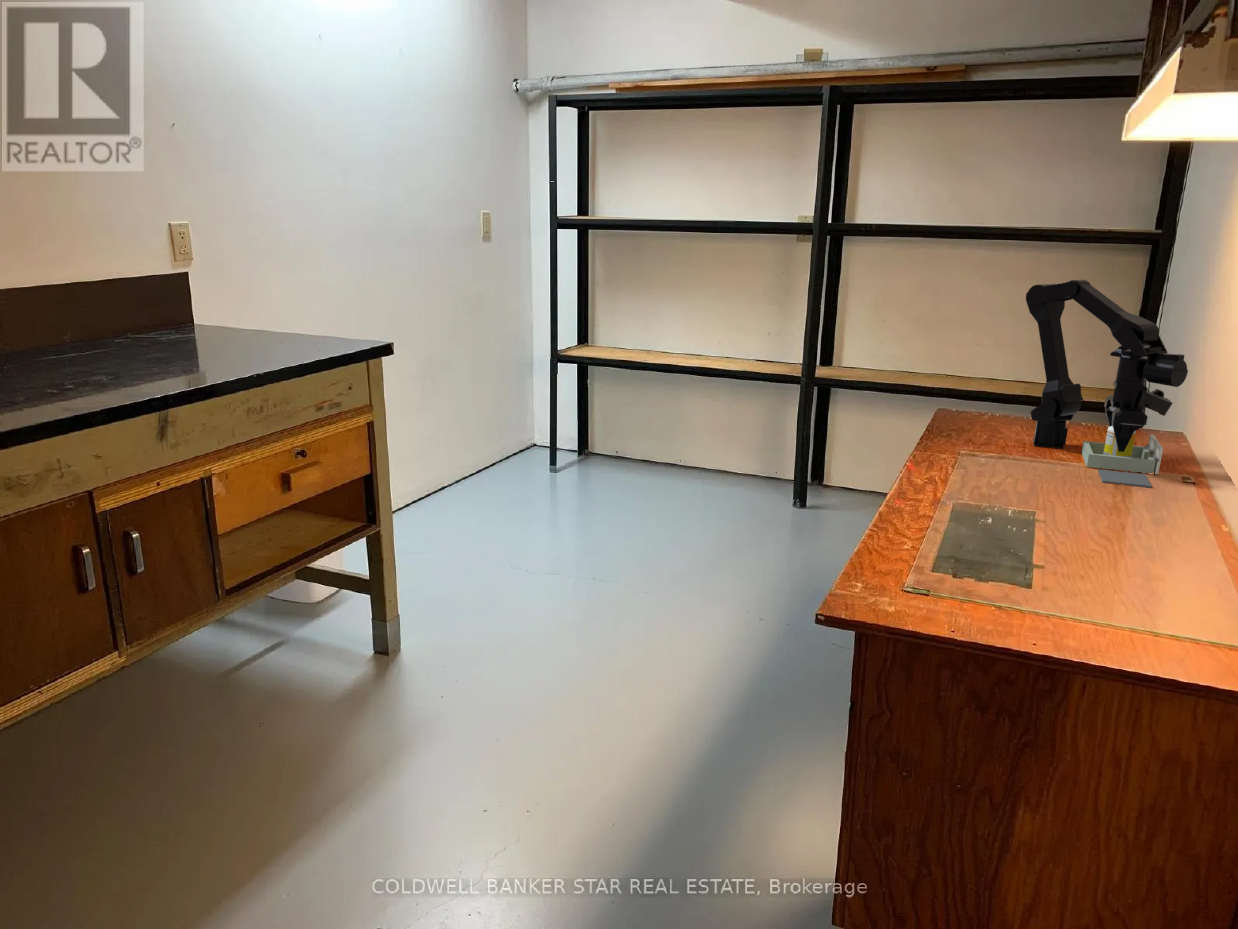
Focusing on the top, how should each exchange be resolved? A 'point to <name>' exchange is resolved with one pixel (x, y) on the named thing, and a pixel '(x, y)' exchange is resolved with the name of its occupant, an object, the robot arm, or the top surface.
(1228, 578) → the top surface
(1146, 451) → the drawer
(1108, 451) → the supplement bottle
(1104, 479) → the mat
